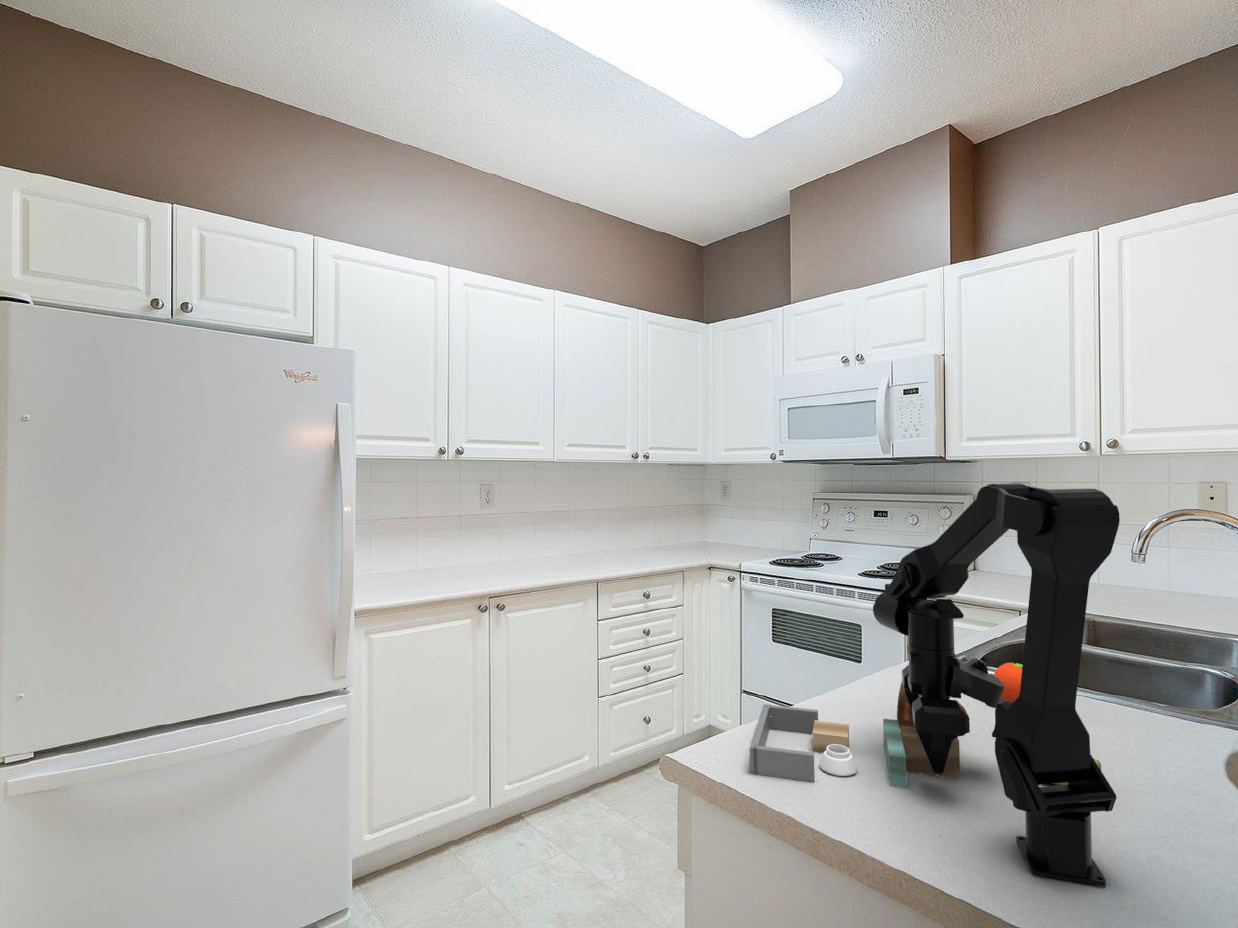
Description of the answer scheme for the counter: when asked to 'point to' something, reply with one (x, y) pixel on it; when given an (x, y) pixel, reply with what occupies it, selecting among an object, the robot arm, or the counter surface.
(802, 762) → the grey u-shaped bracket
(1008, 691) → the clementine
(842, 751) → the white jar
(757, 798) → the counter surface
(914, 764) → the brown and teal block
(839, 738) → the light wooden cube
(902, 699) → the tin
